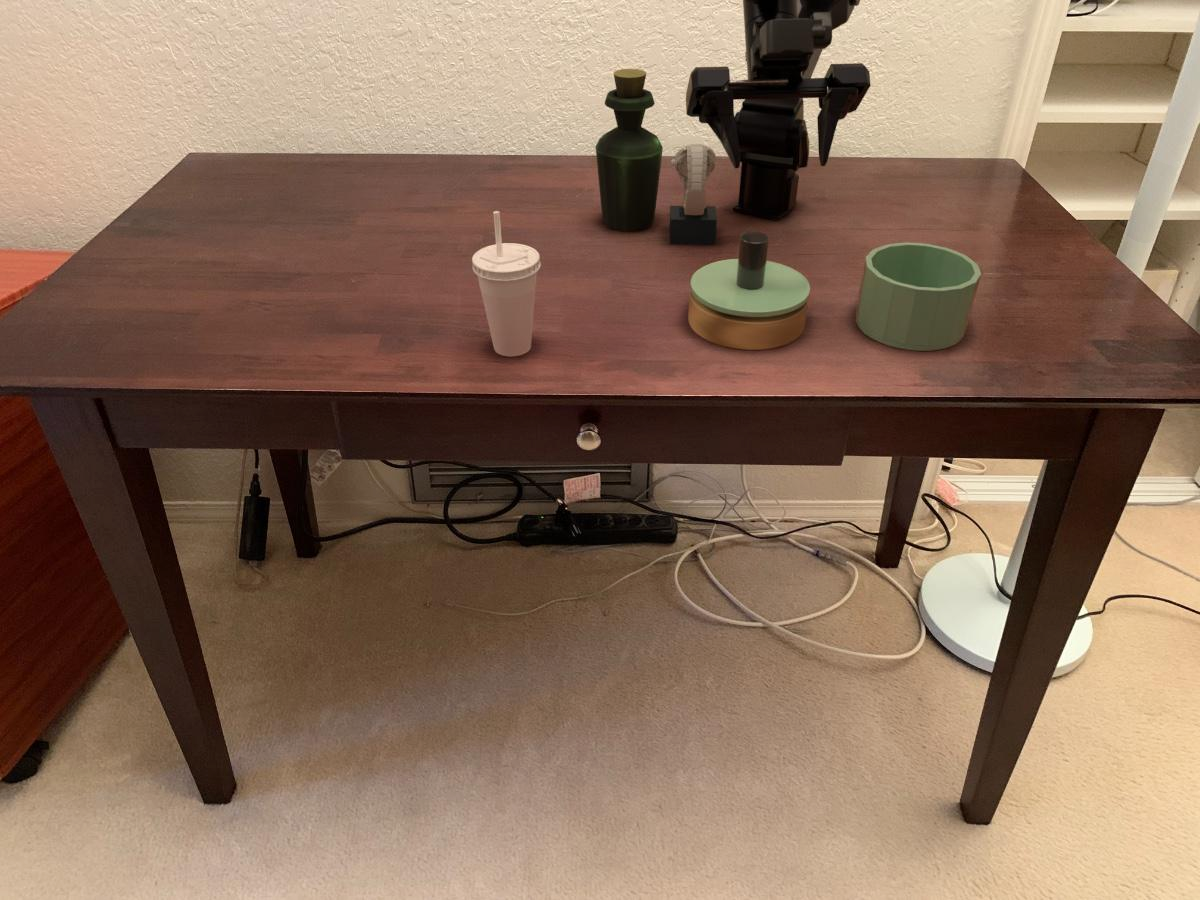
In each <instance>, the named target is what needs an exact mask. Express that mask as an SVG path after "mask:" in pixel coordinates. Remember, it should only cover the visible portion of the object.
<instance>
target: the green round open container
mask: <svg viewBox="0 0 1200 900" xmlns="http://www.w3.org/2000/svg"><path fill="white" fill-rule="evenodd" d="M981 276H982V272H981V269H980V267H979V264H978V263H977V262H976V261H974V260H973V259H971V258H970V257H969V256H968V255H966V254H963V253H962V252H958V251H957V250H954V249H951V248H949V247H944V246H940V245H935V244H932V243H931V244H930V243H924V242H907V241H905V242H897V243H896V242H895V243H888V244H883V245H881V246H879V247H876V248H873V249H872V250H871V251H870V252H869V253H868V254H867V255H866V256H865V258H864V264H863V270H862V275H861V280H860V286H859V290H858V297H857V302H856V309H855V313H856V314H855V323H856V325H857V328H858V329H859V330H860V331H861V332H862V333H863V334H864V335H866V336H867V337H869V338H871V339H872V340H874V341H876V342H878V343H881V344H883V345H885V346H889V347H892V348H895V349H899V350H900V349H901V350H906V351H918V352H929V351H931V352H932V351H939V350H940V351H941V350H945V349H947V348H951V347H953V346H955V345H957V344H958V343H960V342H961V341H962V339H963V338H964V337H965V333H966V330H967V329H968V326H969V322H970V319H971V318H970V317H971V314H972V310H973V306H974V303H975V299H976V295H977V291H978V288H979V284H980V281H981Z"/></svg>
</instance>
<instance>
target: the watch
mask: <svg viewBox="0 0 1200 900" xmlns="http://www.w3.org/2000/svg"><path fill="white" fill-rule="evenodd" d="M716 160H717V156H716V153H715V151H714V150H713V149H712V148H711V147H710V146H708V145H705V144H701V143H691V144H687V145H684V146H683V147H681V148H679V149H678V150H677V151H676V153H675V155H674V158H671V159H670V166H671V167H675V171H676V172H677V174H678V177H679V180H680V183H683V205H670V206H669V227H668V231H669V232H668V233H669V235H668V237H669V238H668V240H669V245H707V246H709V245H711V246H715V245H716V242H717V228H718V216H717V209H716V206H715V205H706V196H707V191H706V183H707V181H708V180H709V178H710V175H711V174H712V173H713V172H714V170H715V168H716V167H715V166H716Z"/></svg>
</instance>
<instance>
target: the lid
mask: <svg viewBox="0 0 1200 900" xmlns="http://www.w3.org/2000/svg"><path fill="white" fill-rule="evenodd" d="M739 236H740V237H739V247H738V257H737V258H730V259H729V258H728V259H722V260H718V261H714V262H711V263H708V264H706V265H703V266H701V267H700V268H699V269H697V270H696V271H695V272H694V273H693V274H692V275H691V277H690V283H689V284H690V285H689V286H690V287H689V288H690V289H691V292H692V294H693V296H694V297H695V298H696V299H697V300H698V301H699V302H700V303H702V304H704V305H705V306H707V307H709V308H711V309H714V310H716V311H719V312H722V313H726V314H731V315H736V316H744V317H769V316H777V315H782V314H786V313H789V312H792V311H794V310H796V309H798V308H800V307H801V306H802V305H804V304H805V303H806V301H807V300H808V301H809V299H810V294H811V286H810V283H809V280H808V279H807V278H806V277H805V276H804V275H803V274H802V273H801V272H800V271H798V270H796V269H794V268H792V267H791V266H788V265H785V264H783V263H778V262H775V261H770V260H768V252H769V243H770V238H769V236H768V234H766V233H764V232H759V231H746V232H743V233H742V234H741V235H739ZM690 289H689V290H690Z"/></svg>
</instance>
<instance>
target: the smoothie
mask: <svg viewBox="0 0 1200 900" xmlns="http://www.w3.org/2000/svg"><path fill="white" fill-rule="evenodd" d="M492 213H493V225H494V237H495V243H494V244H491V245H488V246H484V247H482V248H480V249H478V250H476V252H475V253H474V254H473V255H472V258H471V262H472V265H471V267H472V271H473V273H474V274H475V275H476V276H477V280H478V286H479V289H480V294H481V298H482V302H483V306H484V311H485V316H486V320H487V325H488V329H489V333H490V337H491V341H492V347H493V351H494V352H495V353H496V354H498V355H500V356H504V357H519V356H523V355H525V354H527V353H528V352H529V351H530V350H531V349H532V341H533V340H532V339H533V329H534V328H533V327H534V316H535V315H534V314H535V301H536V288H537V277H538V276H537V275H538V271H539V270H540V268H541V265H542V262H541V257H540V253H539V252H538V250H536V249H535V248H533V246H529V245H527V244H522V243H515V242H514V243H513V242H504V243H503V239H502V227H501V214H500V213H501V212H500V211H499V210H495V211H493V212H492Z"/></svg>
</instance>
